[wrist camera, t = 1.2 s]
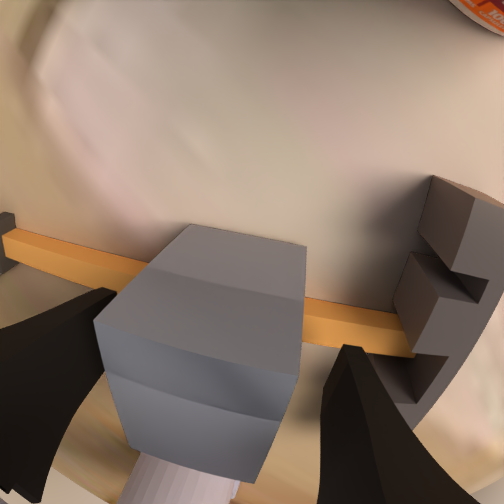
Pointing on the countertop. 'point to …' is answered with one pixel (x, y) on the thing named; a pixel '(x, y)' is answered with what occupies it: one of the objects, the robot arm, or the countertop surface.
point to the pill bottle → (484, 13)
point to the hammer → (125, 269)
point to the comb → (445, 295)
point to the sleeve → (207, 349)
